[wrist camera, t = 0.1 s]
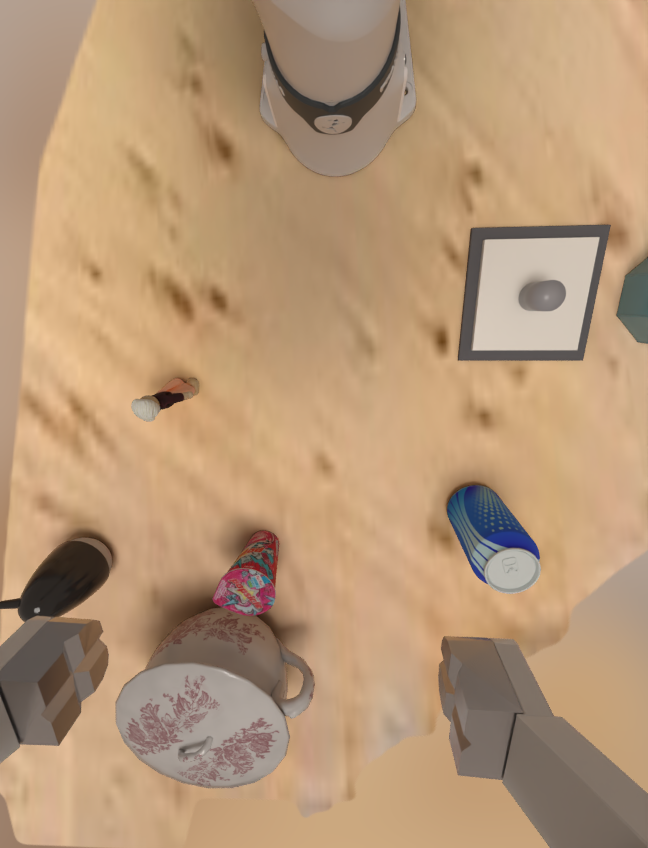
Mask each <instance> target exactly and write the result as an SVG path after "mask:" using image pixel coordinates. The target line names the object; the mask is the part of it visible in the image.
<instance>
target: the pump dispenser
mask: <svg viewBox="0 0 648 848" xmlns="http://www.w3.org/2000/svg"><path fill="white" fill-rule="evenodd" d="M111 566H112V557H111V553H110V551H109V549H108V548H107V547H106V546H105V545H104V544H103V543H102V542H100V541H98V540H96V539H93V538H77V539H74V540H71V541H68V542H65V543H62V544H61V545H59V546H58V547H57V548H56V549H54V550H53V551H52V552H51V553H50V554H49V555H48V557H47V558H46V559H45V560H44V561H43V562H42V563H41V564H40V566H39V567H38V568H37V570H36V571H35V572H34V574H33V575H32V577H31V578H30V580H29V581H28V583H27V585H26V587H25V589H24V591H23V593H22V595H21V598H18V599H12V600H5V601H1V602H0V609H15V608H18V614H19V616H20V618H21V619H22V620H23V621H24V622H26V621H27V620H29V619H31V618H33V617H35V616H48V617H60V616H62V615H64V614H65V613H67V612H69V611H71V610H72V609H74V608H75V607H77V606H78V605H80V604H81V603H83V602H84V601H85V600H87V599H88V598H89V597H90V596H92V595H93V594H94V593H95V592H96V591H97V590H99V589H100V588H101V587H102V586H103V584H104V583H105V582H106V581H107V579H108V577H109V573H110V570H111Z"/></svg>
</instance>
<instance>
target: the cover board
mask: <svg viewBox="0 0 648 848" xmlns="http://www.w3.org/2000/svg"><path fill="white" fill-rule="evenodd" d="M599 238H600V237H581V238H535V239H490V240H483V244H482V253H481V262H480V271H479V280H478V289H477V298H476V307H475V316H474V325H473V334H472V343H471V350H577V349H578V344H579V339H580V334H581V329H582V324H583V319H584V314H585V309H586V304H587V298H588V293H589V288H590V283H591V278H592V273H593V268H594V263H595V258H596V253H597V248H598V243H599Z"/></svg>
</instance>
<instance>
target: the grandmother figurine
mask: <svg viewBox="0 0 648 848" xmlns="http://www.w3.org/2000/svg"><path fill="white" fill-rule="evenodd" d="M198 391H199V382H198V380H197V379H195V378H189V379H188V380H187V381H186V383H184V382H183V380H181V379H179V378H175V379H173V380H171V381H170V382H169V383H167V384H166V385H165V386H164V387H163V388H162V389H161V390H160V391H158V393H156V394H155V395H152V396H144V397H142V398H141V399H135V400H133V402H132V410H133V412H134V414H135V415H136V416H137V417H139V418H140V419H143V420H144V421H154V419H155V416H157V415H158V413H159V412H160V410H161V409H165V408H169V407H170V406H172V405H173V404H174V403H176V402H180V401H183V400H186V399H190V398H192V397H193V395H197V394H198Z"/></svg>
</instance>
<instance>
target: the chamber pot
mask: <svg viewBox="0 0 648 848" xmlns="http://www.w3.org/2000/svg"><path fill="white" fill-rule="evenodd" d="M286 663H287V664H289V665H291V666H293V667H296V668H298V669H299V670H300V671H301V673H302V674H303V677H304V681H303V686H302V689H301V691H300V694H299V695H297V696H296V697H294V698H291V699H287V700H286V697H287V691H288V683H287V666H286ZM314 686H315V682H314V675H313V672H312V670H311V669H310V667H309V666H308V665H307V663H306V662H305V661H304V659H302V658H301V657H299V656H297V655H296V654H294V653H292V652H291V651H289V650H288V649H287V648H286V647H285V646H284V645H283V644H282V642H281V641H280V640H279V639H278V638H276V637H275V635H274V634H273V632H272V631H271V629H270V628H269V626H268V625H267V624H265V623H264V622H263V621H262V620H261V619H259V618H258V617H257V616H256V615H254V616H245V615H241V614H238V613H235V612H232V611H230V610H227V609H225V608H223V607H222V608H212V609H209V610H206V611H203V612H201V613H198V614H196V615H194V616H192V617H190V618H188V619H186V620H184V621H183V622H182V623H180V624H179V625H178V626H177V627H176V628H174V629H173V630H172V631H171V632H170V633H169V634H168V635H167V636H166V638H165V639H164V640H163V641H162V642H161V643H160V645H159V646H158V647H157V648H156V650H155V652H154V653H153V655H152V657H151V659H150V660H149V662H148V664H147V666H146V668H145V670H143V671H141V672H140V673H138V674H137V675H136V676H135V677H133V678H132V679H131V680H130V681H128V682H127V683H126V684H125V685H124V686H123V688H122V690H121V692H120V694H119V696H118V698H117V700H116V725H117V727H118V729H119V731H120V734H121V736H122V738H123V741H124V743H125V744H126V745H127V746H128V747H129V748H130V750H131V751H132V752H133V753H134V754H135V755H136V756H137V758H138V759H139V760H141V761H142V762H144V763H145V764H146V765H148V766H149V767H151V768H152V769H154V770H155V771H157V772H158V773H160V774H162V775H164V776H167V777H169V778H172V779H174V780H176V781H179V782H181V783H184V784H189V785H194V786H199V787H204V788H234V787H239V786H243V785H247V784H251V783H255V782H256V781H258V780H260V779H261V778H263V777H265V776H267V775H268V774H270V773H272V772H273V771H274V770H275V769H276V767H277V766H278V765H279V764H280V762H281V761H282V760H283V758H284V757H285V756H286V753H287V748H288V743H289V739H290V735H289V731H288V727H287V723H286V719H285V716H287V717H290V718H295V717H296V716H298V715H300V714H301V713H302V712H303V711H305V710H306V709H307V708H308V706H309V704H310V702H311V700H312V698H313V692H314Z"/></svg>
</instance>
